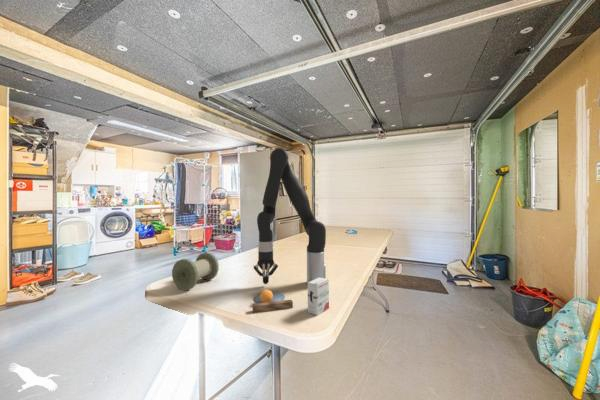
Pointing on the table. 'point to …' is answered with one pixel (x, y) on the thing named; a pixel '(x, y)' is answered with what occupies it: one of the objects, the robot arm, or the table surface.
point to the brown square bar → (272, 306)
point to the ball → (266, 296)
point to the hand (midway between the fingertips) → (265, 283)
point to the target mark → (276, 297)
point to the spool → (194, 270)
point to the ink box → (318, 295)
